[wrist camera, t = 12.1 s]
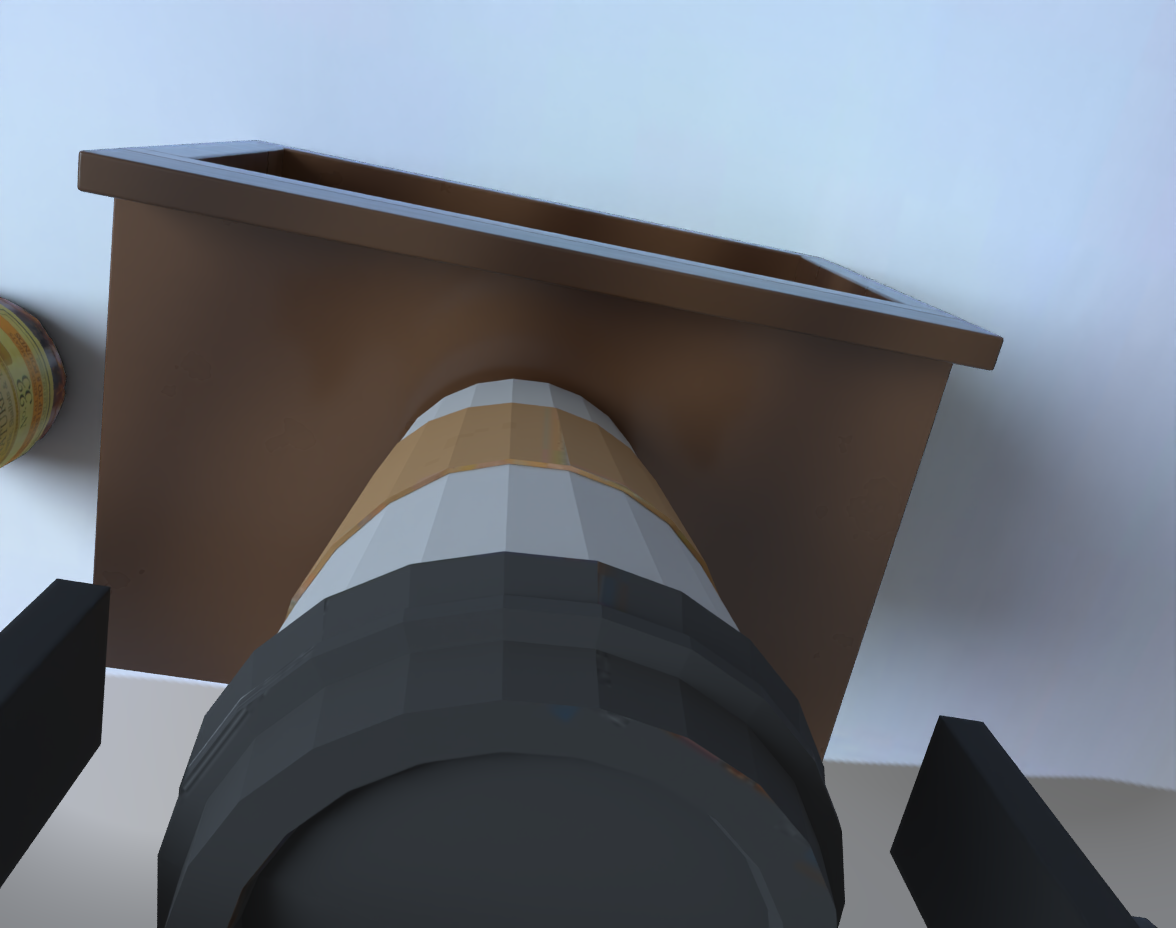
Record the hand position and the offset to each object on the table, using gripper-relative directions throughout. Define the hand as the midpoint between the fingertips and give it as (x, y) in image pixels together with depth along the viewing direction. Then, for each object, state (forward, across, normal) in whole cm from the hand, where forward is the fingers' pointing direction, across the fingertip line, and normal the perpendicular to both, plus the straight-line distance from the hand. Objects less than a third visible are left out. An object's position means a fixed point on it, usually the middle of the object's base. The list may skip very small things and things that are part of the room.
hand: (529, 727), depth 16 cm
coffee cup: (+10, 0, 0) cm, 10 cm away
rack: (+22, 0, 0) cm, 22 cm away
